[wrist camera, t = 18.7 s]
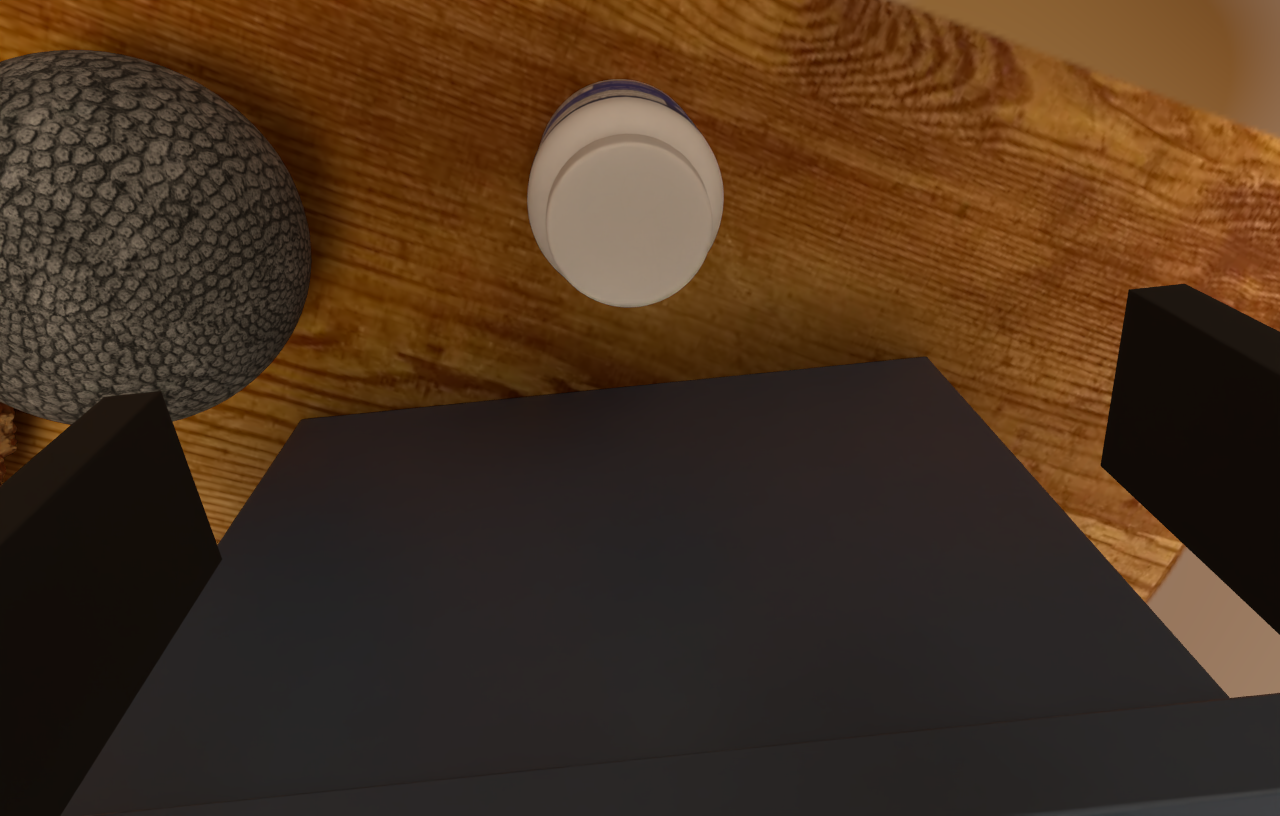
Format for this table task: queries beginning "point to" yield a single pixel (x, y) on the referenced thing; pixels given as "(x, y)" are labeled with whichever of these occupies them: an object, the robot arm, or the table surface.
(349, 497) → the gray rectangular block
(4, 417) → the stuffed squirrel
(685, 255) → the pill bottle
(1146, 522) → the table surface
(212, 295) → the decorative ball
